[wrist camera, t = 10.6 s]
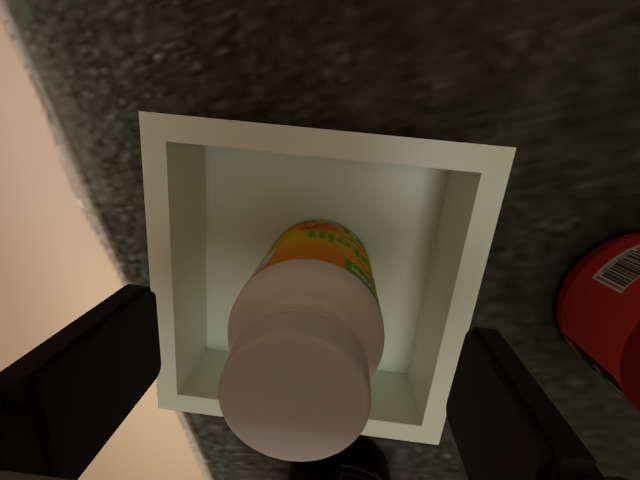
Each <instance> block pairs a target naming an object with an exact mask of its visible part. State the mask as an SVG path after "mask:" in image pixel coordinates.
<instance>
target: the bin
mask: <svg viewBox="0 0 640 480" xmlns="http://www.w3.org/2000/svg"><path fill="white" fill-rule="evenodd" d="M139 123H140V138H141V153H142V168H143V183H144V198H145V213H146V228H147V244H148V259H149V274H150V289H151V292H154V293H155V295H156V304H157V316H158V329H159V342H160V355H161V370H160V373H159V375H158V377H157V378H156V379H157V394H158V408H161V409H169V410H176V411H184V412H192V413H199V414H207V415H214V416H222V417H224V416H223V414H222V412H221V409H220V405H219V398H218V385H219V380H220V376H221V373H222V370H223V368H224V366H225V364H226V361H227V359H228V357H229V355H230V350H229V346H228V336H227V332H228V321H229V316H230V313H231V309H232V307H233V304H234V302H235V300H236V299H237V297H238V295H239V293H240V291H241V290H242V288H243V287H244V285H245V284H246V283H247V281H248V280H249V279H250V277H251V276H252V274H253V273H254V272H255V270H256V269H257V267H258V266H259V264H260V263H261V261H262V260H263V258H264V257H265V255H266V254H267V252H268V251H269V249H270V248H271V247H272V245H273V244H274V242H275V241H276V240H277V238H278V237H279V236H280V235H281V234H282V233H283V232H284V231H285V230H286V229H287V228H289V227H290V226H292V225H294V224H296V223H298V222H300V221H303V220H307V219H315V218H321V219H329V220H333V221H336V222H339V223H341V224H343V225H345V226H346V227H348V228H349V229H351V230H352V231H353V232H354V233H355V234H356V235H357V236H358V237H359V238H360V240H361V241H362V243H363V244H364V246H365V248H366V250H367V253H368V256H369V260H370V264H371V269H372V274H373V278H374V282H375V286H376V292H377V296H378V300H379V304H380V308H381V313H382V317H383V323H384V332H385V341H384V349H383V354H382V358H381V361H380V363H379V366H378V368H377V370H376V372H375V374H374V375H373V377H372V378H371V379H370V387H371V409H370V415H369V418H368V421H367V424H366V426H365V428H364V429H363V431H362V432H361V434H360V435H366V436H374V437H382V438H389V439H397V440H405V441H412V442H420V443H427V444H435V445H439V441H440V437H441V434H442V430H443V426H444V422H445V418H446V415H447V414H446V403H447V399H448V396H449V392H450V389H451V385H452V381H453V378H454V374H455V370H456V367H457V363H458V359H459V356H460V352H461V349H462V345H463V341H464V338H465V335H466V333H467V332H468V331H469V327H470V323H471V319H472V315H473V311H474V308H475V304H476V300H477V296H478V292H479V289H480V285H481V281H482V277H483V273H484V269H485V266H486V262H487V258H488V254H489V250H490V247H491V243H492V239H493V235H494V231H495V227H496V224H497V220H498V216H499V212H500V208H501V205H502V201H503V197H504V193H505V189H506V185H507V182H508V178H509V174H510V170H511V166H512V163H513V159H514V155H515V151H516V148H513V147H503V146H493V145H482V144H472V143H462V142H451V141H441V140H431V139H421V138H410V137H400V136H390V135H379V134H369V133H359V132H348V131H338V130H328V129H317V128H307V127H297V126H286V125H276V124H266V123H255V122H245V121H235V120H224V119H214V118H204V117H193V116H183V115H173V114H163V113H152V112H142V111H139Z"/></svg>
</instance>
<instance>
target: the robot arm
mask: <svg viewBox="0 0 640 480" xmlns="http://www.w3.org/2000/svg"><path fill="white" fill-rule="evenodd" d="M160 370H161V355H160V342H159V329H158V316H157V304H156V295H155V293H154V292H151V289H150V288H149V287H148V286H140V285H132V284H128V285H126V286H124V287H123V288H121V289H120V290H118V291H117V292H115V293H114V294H113V295H111V296H110V297H108V298H107V299H105V300H104V301H102V302H101V303H99V304H98V305H97V306H96V307H94V308H92V309H91V310H89V311H88V312H86V313H85V314H84V315H82V316H81V317H79V318H78V319H76V320H75V321H73V322H72V323H70V324H69V325H68V326H66V327H65V328H63V329H62V330H60V331H59V332H57V333H56V334H55V335H53V336H52V337H50V338H49V339H47V340H46V341H44V342H43V343H42V344H40V345H39V346H37V347H36V348H34V349H33V350H31V351H30V352H29V353H27V354H26V355H24V356H23V357H21V358H20V359H19V360H17V361H15V362H14V363H13V364H11V365H10V366H8V367H7V368H5V369H4V370H2V371H1V372H0V480H78V478H79V477H80V476H81V474H82V473H83V472H84V471H85V469H86V468H87V467H88V465H89V464H90V463H91V462H92V460H93V459H94V458H95V456H96V455H97V454H98V453H99V451H100V450H101V449H102V447H103V446H104V445H105V444H106V442H107V441H108V440H109V438H110V437H111V436H112V435H113V433H114V432H115V431H116V429H117V428H118V427H119V425H120V424H121V423H122V422H123V420H124V419H125V418H126V417H127V415H128V414H129V413H130V412H131V410H132V409H133V408H134V406H135V405H136V404H137V403H138V401H139V400H140V399H141V397H142V396H143V395H144V393H145V392H146V391H147V390H148V388H149V387H150V386H151V385H152V383H153V382H154V381H155V379H156V378H157V377H158V375H159V373H160ZM446 414H447V418H448V421H449V424H450V427H451V430H452V433H453V436H454V438H455V441H456V444H457V447H458V450H459V453H460V456H461V459H462V462H463V464H464V467H465V470H466V473H467V476H468V479H469V480H627V479H624V478H621V477H612V476H607V477H605V478H604V477H603V475H602V474H601V473H600V471H599V470H598V469H597V467H596V466H595V464H596V460H595V459H594V458H593V456H592V455H591V454H590V452H589V451H588V450H587V448H586V447H585V446H584V444H583V443H582V442H581V440H580V439H579V438H578V436H577V435H576V434H575V432H574V431H573V430H572V428H571V427H570V426H569V424H568V423H567V422H566V420H565V419H564V418H563V416H562V415H561V414H560V412H559V411H558V410H557V408H556V407H555V406H554V404H553V403H552V402H551V400H550V399H549V398H548V396H547V395H546V394H545V392H544V391H543V390H542V389H541V387H540V386H539V385H538V383H537V382H536V381H535V379H534V378H533V377H532V375H531V374H530V373H529V371H528V370H527V369H526V367H525V366H524V365H523V363H522V362H521V361H520V359H519V358H518V357H517V355H516V354H515V353H514V351H513V350H512V349H511V347H510V346H509V345H508V343H507V342H506V341H505V339H504V338H503V337H502V335H501V334H500V333H499V332H498V331H497V330H495V329H487V328H479V327H475V328H473V330H472V332H471V331H468V332H467V333H466V335H465V338H464V341H463V345H462V349H461V352H460V356H459V359H458V363H457V367H456V370H455V374H454V378H453V381H452V385H451V389H450V392H449V396H448V399H447V403H446Z"/></svg>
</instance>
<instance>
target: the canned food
mask: <svg viewBox="0 0 640 480" xmlns="http://www.w3.org/2000/svg"><path fill="white" fill-rule="evenodd" d="M556 312H557V321H558V324H559V326H560V329H561V331H562V333H563V335H564V337H565V339H566V341H567V343H568V344H569V346H570V347H571V349H572V350H573V351H574V352H575V353H576V354H577V355H578V356H580V357H581V358H582V359H583V360H584V361H585V362H586V363H587V364H588V365H589V366H590V367H592V368H593V369H594V370H595V371H596V372H597V373H598V374H599V375H600V376H601V377H602V378H603V379H605V380H606V381H607V382H608V383H609V384H610V385H611V386H612V387H613V388H614V389H615V390H617V391H618V392H619V393H620V394H621V395H622V396H623V397H624V398H625V399H626V400H627V401H628V402H630V403H631V404H632V405H633V406H634V407H635V408H636V409H637V410H638V411H639V412H640V233H632V234H628V235H625V236H621V237H617V238H615V239H613V240H611V241H608V242H606V243H604V244H602V245H600V246H599V247H597V248H596V249H594V250H592V251H591V252H590V253H588V254H587V255H586V256H585V257H584V258H583V259H581V260H580V261H579V262H578V263H577V264H576V266H575V267H574V268H573V269H572V270H571V272H570V273H569V274H568V276H567V278H566V279H565V281H564V283H563V284H562V287H561V290H560V292H559V295H558V299H557V307H556Z"/></svg>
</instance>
